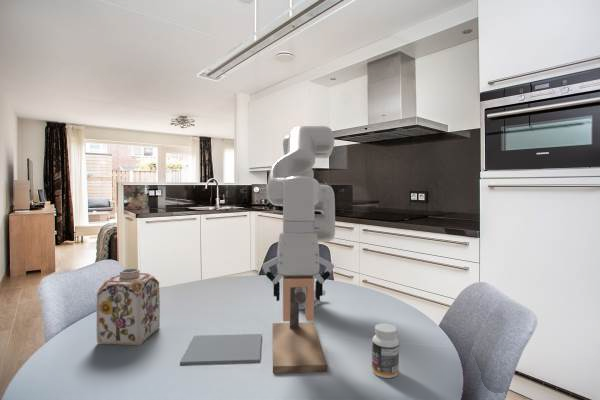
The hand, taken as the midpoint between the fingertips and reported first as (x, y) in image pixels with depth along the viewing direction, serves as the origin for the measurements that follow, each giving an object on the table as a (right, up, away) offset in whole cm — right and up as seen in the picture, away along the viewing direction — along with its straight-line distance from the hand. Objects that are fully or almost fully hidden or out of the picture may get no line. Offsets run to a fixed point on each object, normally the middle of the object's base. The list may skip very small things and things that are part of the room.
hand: (297, 299), depth 81 cm
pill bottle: (+19, -14, -7) cm, 25 cm away
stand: (0, -14, +5) cm, 14 cm away
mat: (-18, -14, +3) cm, 23 cm away
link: (0, -5, 0) cm, 5 cm away
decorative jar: (-46, -13, +10) cm, 49 cm away
